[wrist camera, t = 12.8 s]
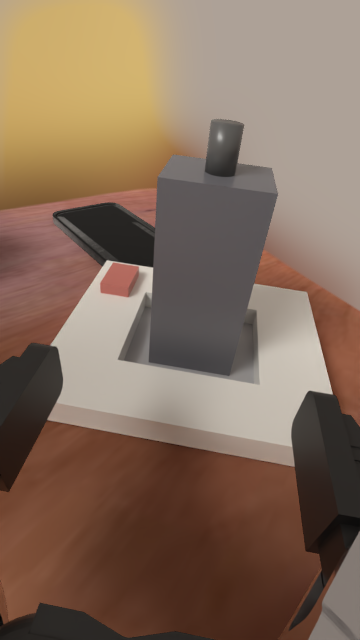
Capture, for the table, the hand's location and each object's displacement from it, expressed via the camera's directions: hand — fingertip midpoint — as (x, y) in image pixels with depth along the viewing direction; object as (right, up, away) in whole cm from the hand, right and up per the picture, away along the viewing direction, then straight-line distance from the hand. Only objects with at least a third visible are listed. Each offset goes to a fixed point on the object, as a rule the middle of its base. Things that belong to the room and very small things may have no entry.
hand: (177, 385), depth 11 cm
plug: (+1, 0, +12) cm, 12 cm away
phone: (-6, +10, +24) cm, 26 cm away
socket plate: (+1, 0, +12) cm, 12 cm away
